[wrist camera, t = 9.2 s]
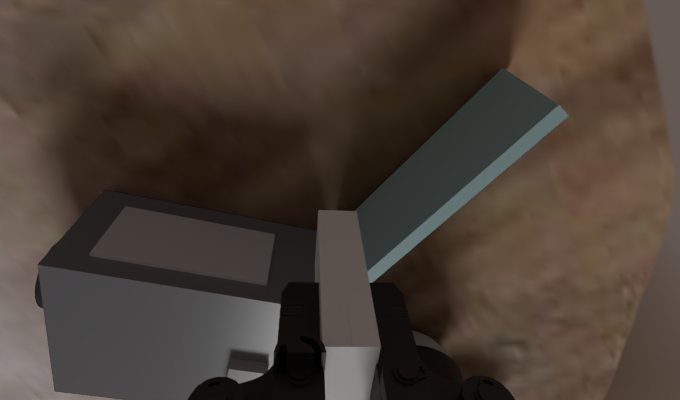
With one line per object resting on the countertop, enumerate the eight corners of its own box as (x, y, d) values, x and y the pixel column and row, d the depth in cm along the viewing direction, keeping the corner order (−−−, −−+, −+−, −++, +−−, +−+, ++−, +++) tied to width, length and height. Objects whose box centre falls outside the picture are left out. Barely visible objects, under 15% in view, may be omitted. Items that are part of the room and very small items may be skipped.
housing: (89, 300, 34) (23, 399, 26) (82, 183, 29) (-4, 266, 21) (299, 331, 37) (293, 430, 29) (330, 230, 31) (332, 320, 24)
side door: (500, 65, 25) (556, 102, 19) (520, 87, 26) (580, 128, 20) (331, 229, 31) (333, 297, 25) (351, 243, 31) (358, 312, 25)
